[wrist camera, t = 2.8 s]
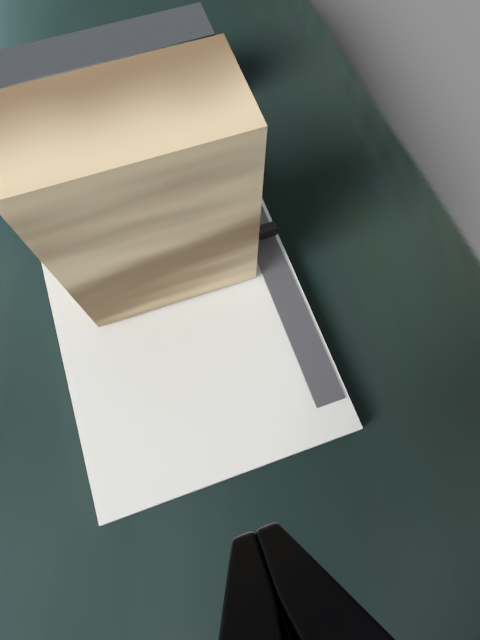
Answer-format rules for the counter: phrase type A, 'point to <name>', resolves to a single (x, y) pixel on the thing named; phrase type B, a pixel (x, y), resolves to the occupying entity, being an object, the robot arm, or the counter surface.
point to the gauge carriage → (138, 177)
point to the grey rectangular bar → (103, 44)
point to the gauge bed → (199, 386)
